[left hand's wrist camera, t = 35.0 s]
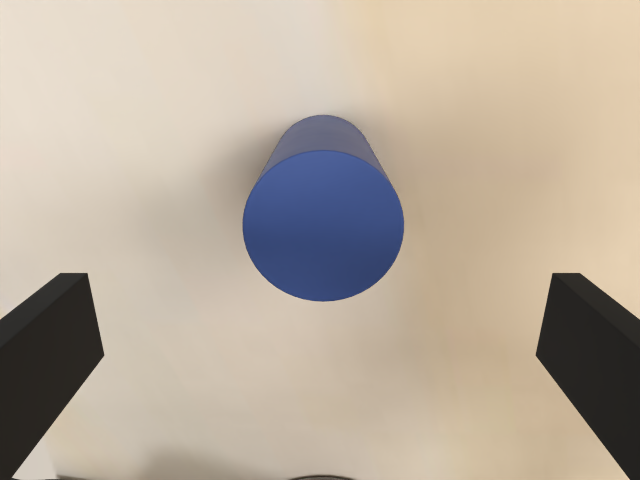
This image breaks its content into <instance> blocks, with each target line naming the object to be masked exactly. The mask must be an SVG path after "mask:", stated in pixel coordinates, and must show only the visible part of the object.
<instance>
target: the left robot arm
mask: <svg viewBox="0 0 640 480" xmlns="http://www.w3.org/2000/svg"><path fill="white" fill-rule="evenodd" d="M103 356H104V351H103V346H102V341H101V337H100V332H99V327H98V322H97V317H96V312H95V308H94V303H93V298H92V293H91V288H90V283H89V279H88V274H87V273H60V274H58V275H57V276H56V277H55V278H53V279H52V280H51V281H49V282H48V283H47V284H46V285H44V286H43V287H42V288H40V289H39V290H38V291H37V292H35V293H34V294H33V295H31V296H30V297H29V298H28V299H26V300H25V301H24V302H22V303H21V304H20V305H19V306H17V307H16V308H15V309H13V310H12V311H11V312H10V313H8V314H7V315H6V316H4V317H3V318H2V319H1V320H0V480H18V479H14V478H12V476H13V475H14V474H15V472H16V471H17V470H18V468H19V467H20V466H21V464H22V463H23V462H24V461H25V459H26V458H27V457H28V455H29V454H30V453H31V451H32V450H33V449H34V447H35V446H36V445H37V443H38V442H39V441H40V439H41V438H42V437H43V436H44V434H45V433H46V432H47V430H48V429H49V428H50V426H51V425H52V424H53V422H54V421H55V420H56V418H57V417H58V416H59V414H60V413H61V412H62V410H63V409H64V408H65V407H66V405H67V404H68V403H69V401H70V400H71V399H72V397H73V396H74V395H75V393H76V392H77V391H78V389H79V388H80V387H81V385H82V384H83V383H84V382H85V380H86V379H87V378H88V376H89V375H90V374H91V372H92V371H93V370H94V368H95V367H96V366H97V364H98V363H99V362H100V360H101V359H102V358H103ZM536 356H537V358H538V359H539V360H540V362H541V363H542V364H543V366H544V367H545V368H546V370H547V371H548V372H549V374H550V375H551V376H552V378H553V379H554V380H555V382H556V383H557V384H558V385H559V387H560V388H561V389H562V391H563V392H564V393H565V395H566V396H567V397H568V399H569V400H570V401H571V403H572V404H573V405H574V407H575V408H576V409H577V410H578V412H579V413H580V414H581V416H582V417H583V418H584V420H585V421H586V422H587V424H588V425H589V426H590V428H591V429H592V430H593V432H594V433H595V434H596V436H597V437H598V438H599V439H600V441H601V442H602V443H603V445H604V446H605V447H606V449H607V450H608V451H609V453H610V454H611V455H612V457H613V458H614V459H615V461H616V462H617V463H618V464H619V466H620V467H621V468H622V470H623V471H624V472H625V474H626V475H627V476H628V478H629V479H630V480H640V320H639V319H638V318H637V317H636V316H634V315H633V314H632V313H630V312H629V311H628V310H627V309H625V308H624V307H623V306H621V305H620V304H619V303H618V302H616V301H615V300H614V299H612V298H611V297H610V296H609V295H607V294H606V293H605V292H603V291H602V290H601V289H600V288H598V287H597V286H596V285H594V284H593V283H592V282H591V281H589V280H588V279H587V278H585V277H584V276H583V275H582V274H580V273H553V274H552V279H551V283H550V288H549V293H548V298H547V303H546V308H545V312H544V317H543V322H542V327H541V332H540V337H539V341H538V346H537V351H536ZM47 480H59V479H47ZM299 480H346V479H340V478H331V477H313V478H305V479H299Z"/></svg>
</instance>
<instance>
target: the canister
mask: <svg viewBox="0 0 640 480" xmlns="http://www.w3.org/2000/svg"><path fill="white" fill-rule="evenodd" d="M403 233H404V218H403V211H402V207H401V204H400V201H399V198H398V196H397V194H396V192H395V190H394V188H393V186H392V184H391V183H390V181H389V179H388V177H387V176H386V174H385V172H384V170H383V168H382V167H381V165H380V163H379V161H378V160H377V158H376V156H375V154H374V152H373V151H372V149H371V147H370V145H369V144H368V142H367V140H366V138H365V137H364V135H363V134H362V133H361V132H360V131H359V130H358V129H357V128H356V127H355V126H354V125H352V124H351V123H350V122H348V121H346V120H344V119H341V118H338V117H335V116H330V115H317V116H312V117H308V118H305V119H303V120H301V121H299V122H297V123H296V124H294V125H293V126H292V127H290V128H289V129H288V130H287V131H286V132H285V134H284V135H283V136H282V138H281V139H280V141H279V143H278V145H277V146H276V148H275V150H274V152H273V153H272V155H271V157H270V159H269V161H268V162H267V164H266V166H265V168H264V169H263V171H262V173H261V175H260V177H259V178H258V180H257V182H256V184H255V186H254V187H253V189H252V191H251V193H250V195H249V197H248V200H247V202H246V206H245V209H244V215H243V236H244V242H245V245H246V249H247V251H248V254H249V256H250V258H251V260H252V262H253V263H254V265H255V267H256V268H257V269H258V270H259V272H260V273H261V274H262V275H263V276H264V277H265V278H266V279H267V280H268V281H269V282H270V283H271V284H273V285H274V286H275V287H277V288H278V289H280V290H282V291H284V292H285V293H288V294H290V295H292V296H295V297H298V298H301V299H306V300H311V301H335V300H341V299H345V298H348V297H352V296H354V295H357V294H359V293H361V292H363V291H365V290H366V289H368V288H370V287H371V286H372V285H374V284H375V283H377V282H378V281H379V280H380V279H381V278H382V277H383V276H384V275H385V274H386V272H387V271H388V270H389V269H390V267H391V266H392V264H393V263H394V261H395V259H396V257H397V255H398V253H399V250H400V247H401V244H402V240H403Z"/></svg>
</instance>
